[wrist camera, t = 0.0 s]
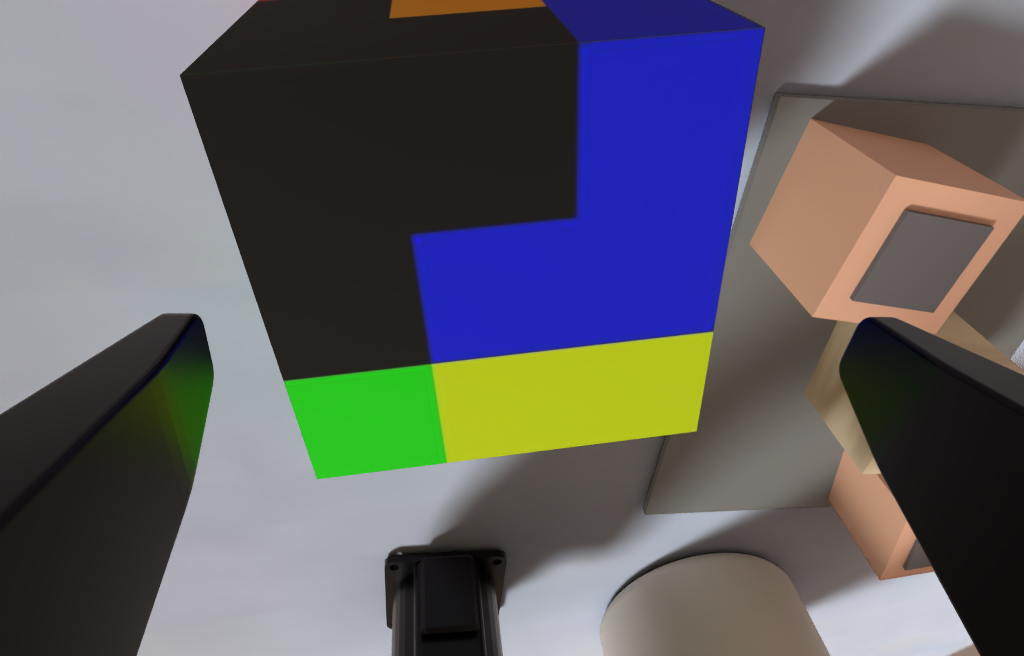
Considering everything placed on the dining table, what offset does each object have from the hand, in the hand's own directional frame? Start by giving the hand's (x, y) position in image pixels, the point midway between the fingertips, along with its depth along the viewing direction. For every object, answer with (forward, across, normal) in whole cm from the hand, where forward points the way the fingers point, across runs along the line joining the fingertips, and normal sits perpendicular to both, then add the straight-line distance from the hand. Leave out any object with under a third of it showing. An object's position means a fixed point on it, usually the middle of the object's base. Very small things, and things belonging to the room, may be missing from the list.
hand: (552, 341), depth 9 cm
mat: (+15, -18, +11) cm, 26 cm away
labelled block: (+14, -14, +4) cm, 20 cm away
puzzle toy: (+15, 0, +2) cm, 15 cm away
